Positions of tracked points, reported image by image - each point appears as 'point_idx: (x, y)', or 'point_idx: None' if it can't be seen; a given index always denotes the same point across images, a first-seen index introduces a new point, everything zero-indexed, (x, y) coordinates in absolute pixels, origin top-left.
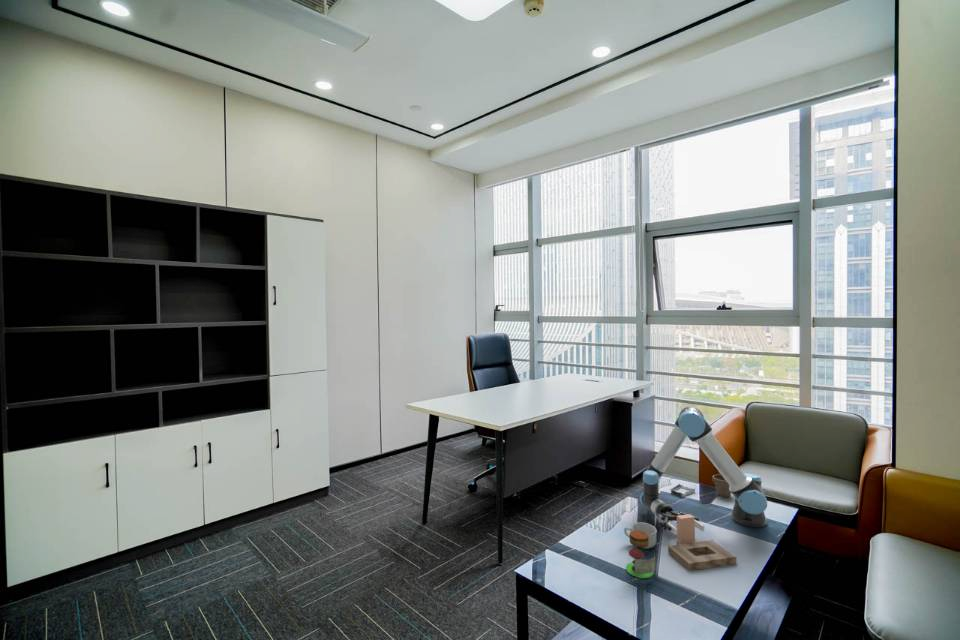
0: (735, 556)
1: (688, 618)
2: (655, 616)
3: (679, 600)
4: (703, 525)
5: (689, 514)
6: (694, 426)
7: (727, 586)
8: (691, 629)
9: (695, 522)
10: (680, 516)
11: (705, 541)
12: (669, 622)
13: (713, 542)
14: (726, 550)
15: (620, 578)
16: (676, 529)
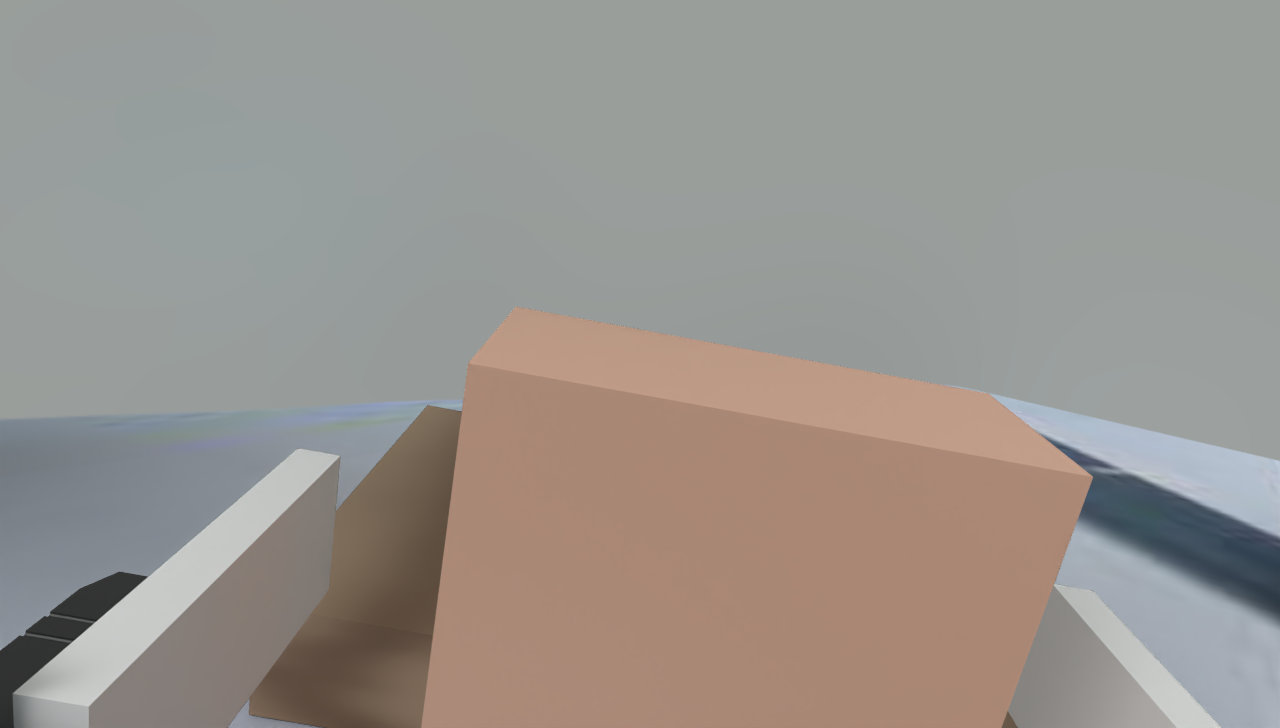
0: (429, 408)
1: (1089, 435)
2: (1264, 481)
3: (1117, 481)
4: (292, 459)
5: (512, 366)
6: None
7: None
8: (1088, 418)
9: (173, 669)
10: (947, 423)
11: (425, 626)
12: (1188, 452)
13: (330, 570)
14: (395, 456)
15: None
16: (1074, 594)
